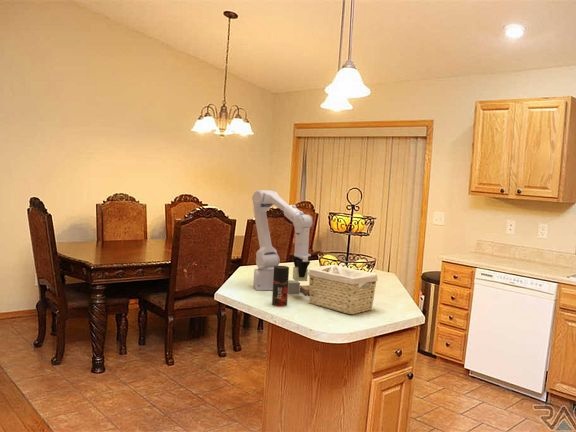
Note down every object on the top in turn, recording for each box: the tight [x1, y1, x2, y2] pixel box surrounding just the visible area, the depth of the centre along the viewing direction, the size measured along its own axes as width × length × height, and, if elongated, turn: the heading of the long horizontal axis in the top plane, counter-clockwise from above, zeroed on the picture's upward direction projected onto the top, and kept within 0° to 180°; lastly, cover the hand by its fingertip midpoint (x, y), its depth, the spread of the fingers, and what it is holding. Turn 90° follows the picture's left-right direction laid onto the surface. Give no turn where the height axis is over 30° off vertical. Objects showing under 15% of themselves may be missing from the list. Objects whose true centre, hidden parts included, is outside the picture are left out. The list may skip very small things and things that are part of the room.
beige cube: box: [292, 266, 309, 282], centre depth 204 cm, size 5×5×5 cm
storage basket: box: [308, 264, 379, 315], centre depth 194 cm, size 24×16×15 cm
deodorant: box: [271, 265, 290, 308], centre depth 192 cm, size 6×6×15 cm
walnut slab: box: [300, 284, 313, 297], centre depth 214 cm, size 8×8×3 cm
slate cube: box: [288, 279, 301, 295], centre depth 213 cm, size 5×5×5 cm
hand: (300, 275), depth 204 cm, fingers closed on beige cube, 5 cm apart
